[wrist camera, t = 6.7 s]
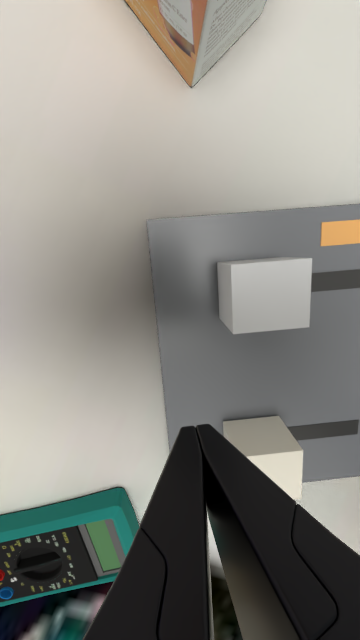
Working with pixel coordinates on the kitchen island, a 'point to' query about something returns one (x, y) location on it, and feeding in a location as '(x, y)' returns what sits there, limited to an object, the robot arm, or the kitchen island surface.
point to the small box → (196, 29)
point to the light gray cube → (265, 294)
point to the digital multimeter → (65, 545)
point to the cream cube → (269, 450)
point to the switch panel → (268, 346)
